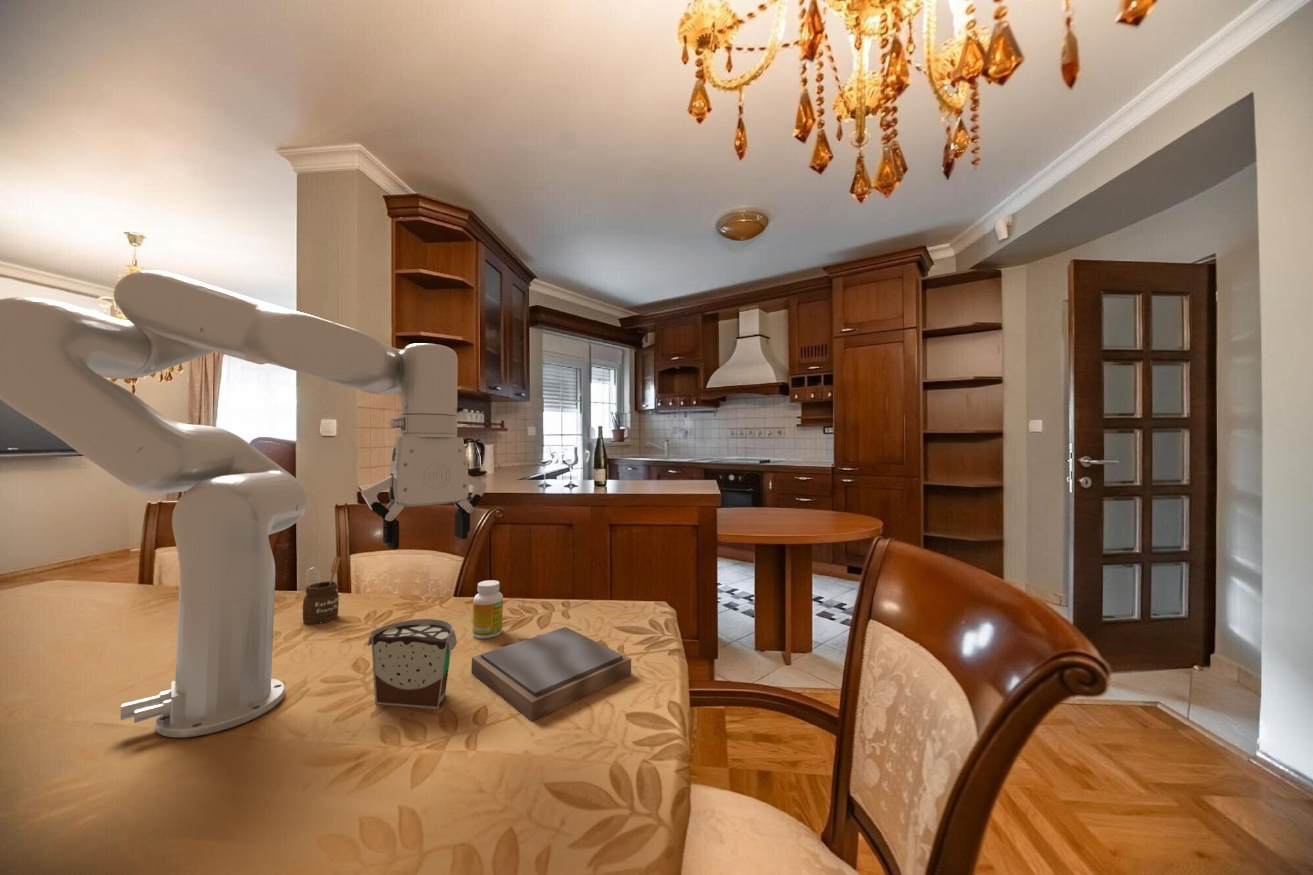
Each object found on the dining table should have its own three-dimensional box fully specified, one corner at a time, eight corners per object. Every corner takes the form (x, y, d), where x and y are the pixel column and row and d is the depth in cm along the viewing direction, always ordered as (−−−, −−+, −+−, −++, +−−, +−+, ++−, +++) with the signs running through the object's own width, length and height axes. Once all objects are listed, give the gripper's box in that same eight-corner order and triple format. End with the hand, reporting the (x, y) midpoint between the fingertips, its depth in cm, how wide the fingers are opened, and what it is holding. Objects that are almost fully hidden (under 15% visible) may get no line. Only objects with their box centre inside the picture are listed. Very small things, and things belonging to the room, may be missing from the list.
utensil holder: (294, 622, 92) (297, 562, 92) (325, 612, 98) (327, 555, 98) (316, 626, 90) (318, 565, 90) (346, 615, 96) (348, 558, 96)
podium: (531, 721, 60) (532, 698, 61) (471, 673, 73) (471, 654, 73) (630, 674, 73) (631, 655, 74) (565, 640, 86) (565, 624, 86)
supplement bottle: (495, 639, 86) (497, 587, 86) (467, 638, 86) (468, 586, 86) (505, 628, 91) (507, 579, 91) (479, 627, 91) (480, 578, 91)
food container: (471, 686, 69) (473, 619, 69) (448, 709, 63) (451, 636, 63) (394, 680, 70) (396, 615, 70) (365, 703, 64) (367, 631, 64)
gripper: (370, 425, 60) (369, 557, 59) (496, 429, 72) (495, 537, 72) (355, 427, 65) (354, 547, 65) (475, 430, 77) (474, 531, 77)
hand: (428, 542), depth 68 cm, fingers open, 9 cm apart
